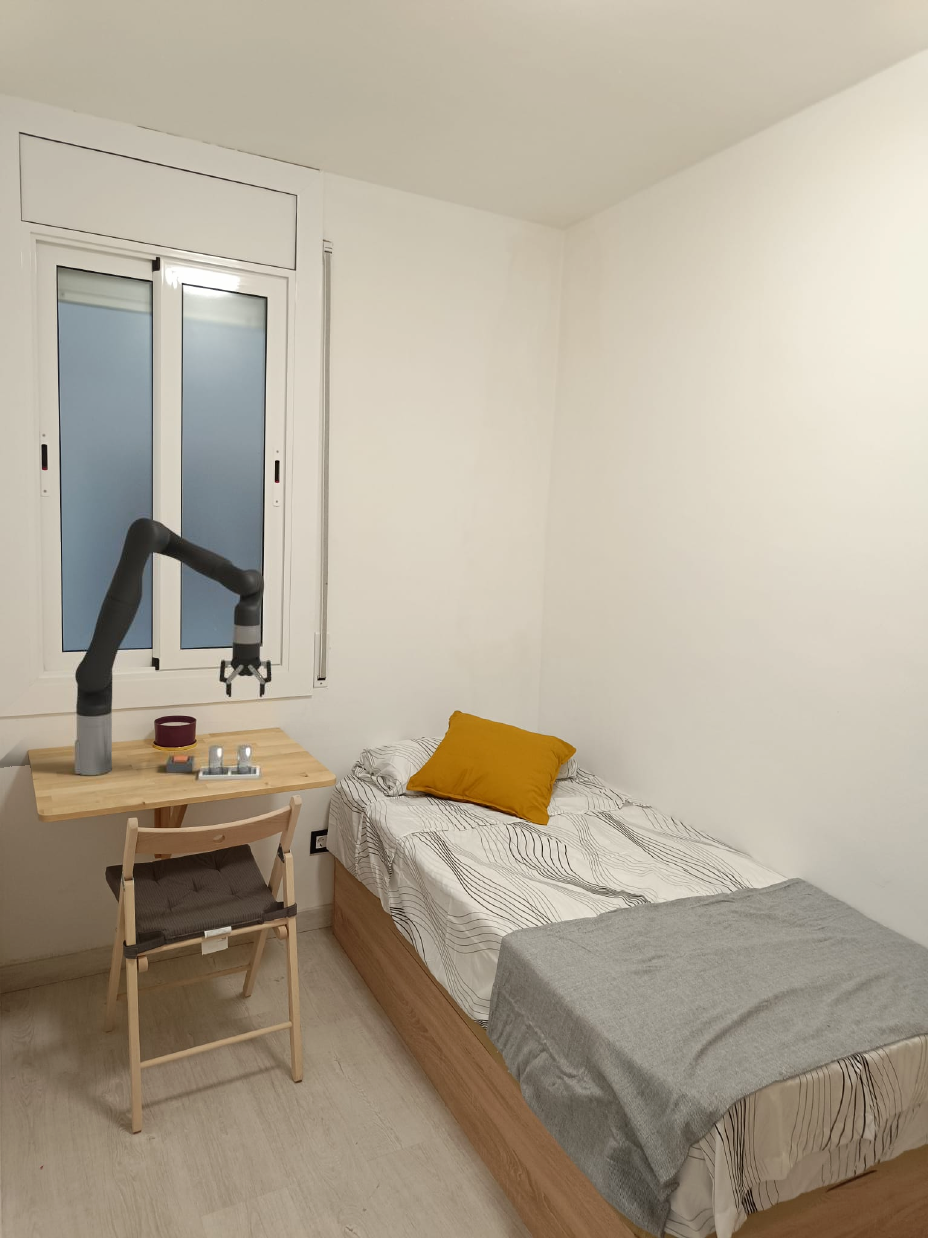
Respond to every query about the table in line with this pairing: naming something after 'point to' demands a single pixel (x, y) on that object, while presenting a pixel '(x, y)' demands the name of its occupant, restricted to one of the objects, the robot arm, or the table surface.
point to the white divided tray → (229, 774)
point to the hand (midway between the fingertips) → (245, 696)
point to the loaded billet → (215, 760)
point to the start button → (180, 759)
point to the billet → (244, 759)
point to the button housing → (180, 765)
